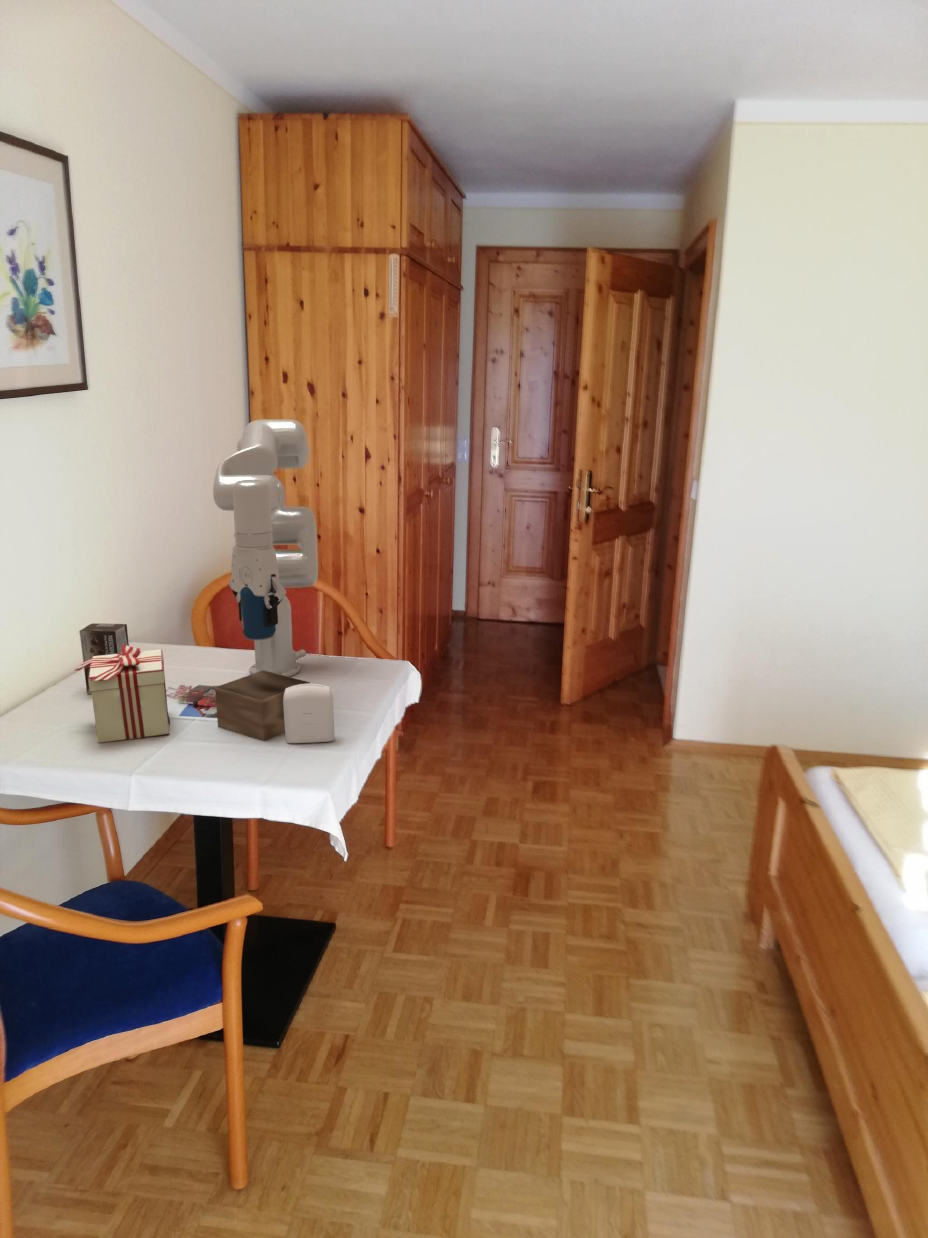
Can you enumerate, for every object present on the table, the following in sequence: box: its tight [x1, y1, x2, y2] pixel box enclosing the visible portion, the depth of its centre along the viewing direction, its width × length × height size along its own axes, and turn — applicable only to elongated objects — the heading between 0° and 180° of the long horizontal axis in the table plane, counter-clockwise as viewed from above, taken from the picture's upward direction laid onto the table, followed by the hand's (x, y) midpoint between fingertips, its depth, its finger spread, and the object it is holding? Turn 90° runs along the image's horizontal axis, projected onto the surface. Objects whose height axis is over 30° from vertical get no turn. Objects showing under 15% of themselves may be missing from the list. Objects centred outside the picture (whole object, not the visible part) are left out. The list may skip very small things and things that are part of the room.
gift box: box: [73, 645, 171, 744], centre depth 198 cm, size 17×18×17 cm
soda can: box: [240, 584, 276, 641], centre depth 197 cm, size 7×7×12 cm
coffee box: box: [79, 623, 130, 696], centre depth 222 cm, size 9×6×16 cm
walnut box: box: [213, 670, 311, 742], centre depth 203 cm, size 14×14×9 cm
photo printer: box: [283, 683, 336, 744], centre depth 193 cm, size 10×4×12 cm, turn 96°
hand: (258, 621), depth 198 cm, fingers closed on soda can, 7 cm apart
